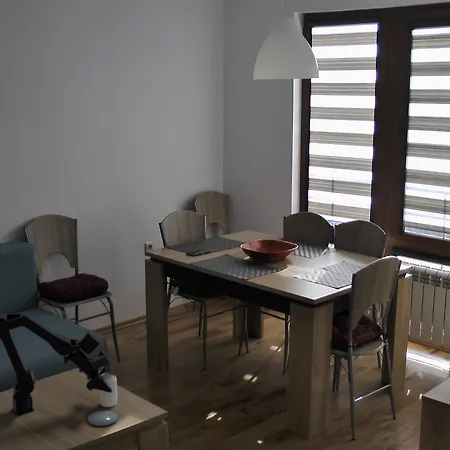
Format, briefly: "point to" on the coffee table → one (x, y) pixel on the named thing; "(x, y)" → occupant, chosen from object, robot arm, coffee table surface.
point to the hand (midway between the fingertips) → (112, 388)
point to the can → (106, 397)
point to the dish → (102, 418)
